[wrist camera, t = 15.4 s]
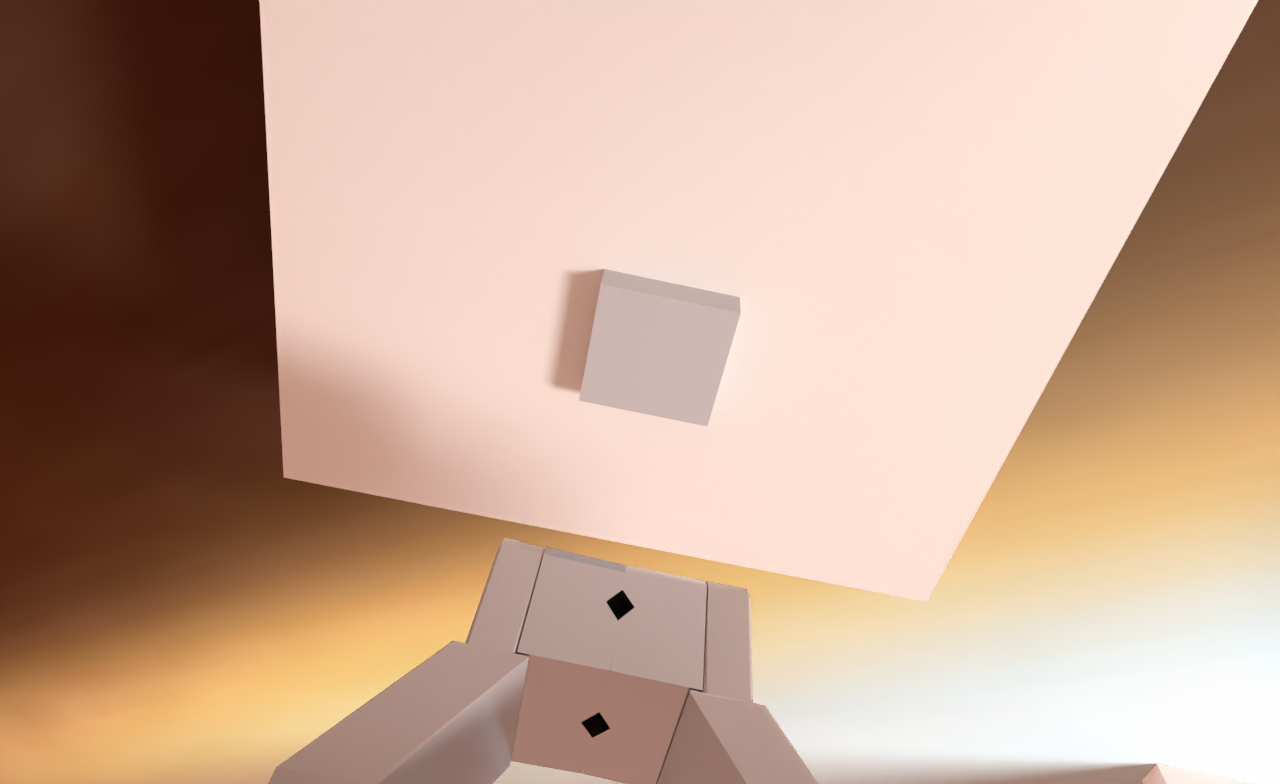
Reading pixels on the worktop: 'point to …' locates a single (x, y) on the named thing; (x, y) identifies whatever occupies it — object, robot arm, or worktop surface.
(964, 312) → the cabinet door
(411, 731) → the robot arm
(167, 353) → the worktop surface
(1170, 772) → the white bracket plate
